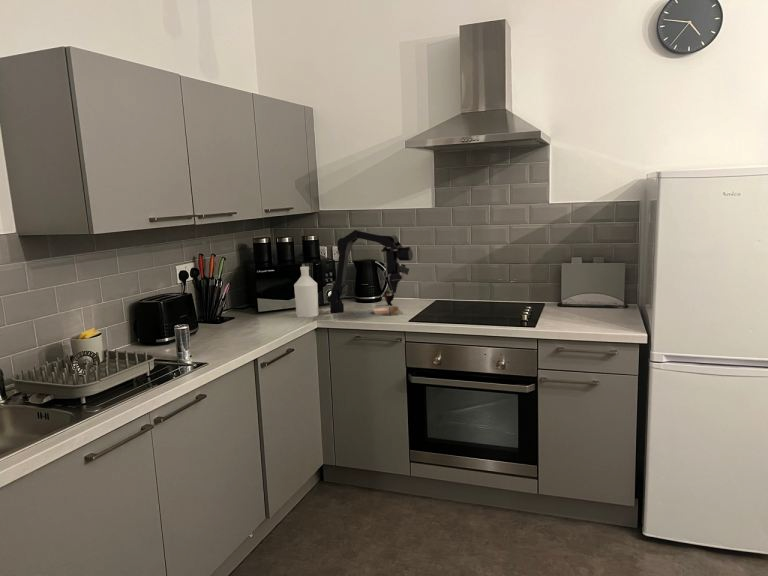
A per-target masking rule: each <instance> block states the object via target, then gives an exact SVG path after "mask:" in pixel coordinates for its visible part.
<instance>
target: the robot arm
mask: <svg viewBox="0 0 768 576" xmlns="http://www.w3.org/2000/svg"><path fill="white" fill-rule="evenodd" d="M358 239H361V240H365V241H370V242H375V243H378V244H380V245H381V246H384V247H383V248H382V249H381V251H380V252H381V253H382V252H383V253H385V262H384V265H385V267H386V268H385V269H384V270H383V271H382V275H383V277H384V279H385V282H386V284H387V286H388V288H389V291H393V293H394V294H396V293H397V290H398V289H397V288H398V283H399V282H401V280H403V275H402V274H405V275H409V273H410V268H409V267H407V266H406V265H405V264H403V263H402V264H401V265H400V263H399V262H398V261H400V262H401V261H402V262H405V261H408V262H410V261H412V260H413V258H414V257H413V256H414V253H413V250H412V247H411V246H403V245H402V244H401V243H400V241H399V238H398V236H397V235H396V234H379V233H377V232H376V233H375V232H371V231H365V230H362V229H359V228H358V229H354V230H353V231H351V232H350V233H349V234H347V235H345V236H344V237H340V238H339V239H337V242H336V243H337V244H336V245H337V247H336V249H337V252H338V260H337V268H336V276H335V282H334V284H333V286H332V288H331V291H330V294H329V295H328V297H327V298H326V300H327V302H328V303H329V313H330V314H331V315H332V314H343V313H344V312H345V308H344V302H343V300H344V299H345V297H346V296H347V294H348V289H349V285H348V284H346V276H347V270H348V261H349V255H350V253H351V251H352V249H353V245H354V243H356V241H358Z"/></svg>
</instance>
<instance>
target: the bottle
mask: <svg viewBox="0 0 768 576" xmlns="http://www.w3.org/2000/svg"><path fill="white" fill-rule="evenodd" d="M299 270H300V273H301V274H300V277H299V278H298V279H297V281H296V282H295V283H294V284H293V287H294V299H295V300H294V301H295V311H296V312H295V313H296V317H297V316H298V318H312V317H317V316H319V314H320V313H319V293H318V291H319V289H318V282H316V281H315V280H314V279H313V278H312V277H311V276H310V271H309V270H310V266H300V269H299Z"/></svg>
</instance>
